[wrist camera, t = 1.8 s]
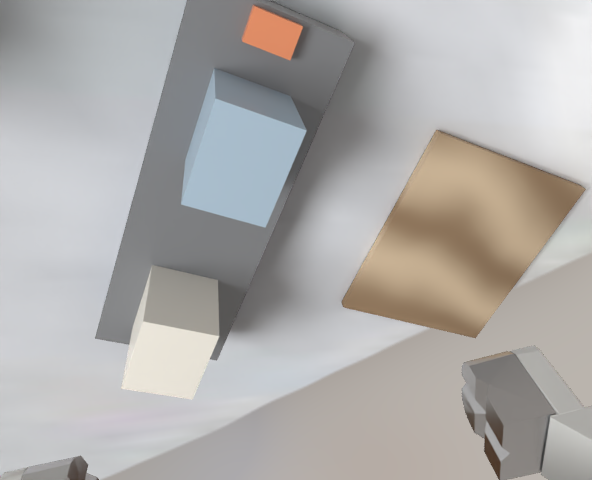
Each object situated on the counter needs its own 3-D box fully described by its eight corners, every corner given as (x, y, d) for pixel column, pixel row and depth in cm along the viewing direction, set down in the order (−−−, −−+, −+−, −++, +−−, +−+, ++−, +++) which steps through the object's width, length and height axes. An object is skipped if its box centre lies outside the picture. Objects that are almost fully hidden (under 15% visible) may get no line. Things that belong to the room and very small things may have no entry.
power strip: (216, 330, 37) (217, 366, 34) (103, 307, 34) (93, 345, 31) (341, 31, 27) (358, 45, 24) (195, -32, 24) (194, -25, 21)
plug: (195, 319, 35) (192, 399, 29) (136, 307, 33) (121, 388, 28) (217, 261, 32) (219, 336, 27) (155, 246, 31) (142, 321, 25)
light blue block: (254, 166, 29) (265, 227, 24) (186, 145, 28) (180, 204, 22) (285, 85, 27) (306, 130, 21) (214, 58, 26) (215, 98, 20)
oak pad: (472, 333, 41) (475, 338, 40) (341, 301, 37) (343, 307, 37) (580, 185, 35) (585, 189, 34) (436, 129, 31) (440, 133, 30)
